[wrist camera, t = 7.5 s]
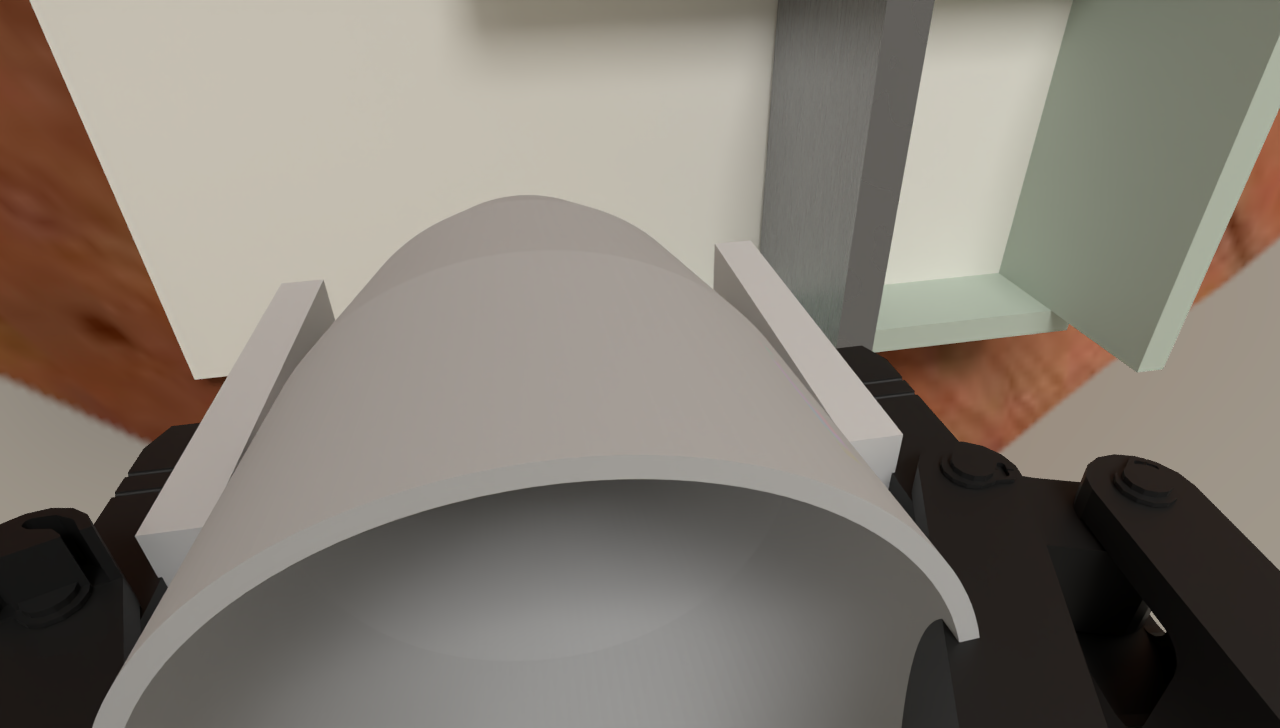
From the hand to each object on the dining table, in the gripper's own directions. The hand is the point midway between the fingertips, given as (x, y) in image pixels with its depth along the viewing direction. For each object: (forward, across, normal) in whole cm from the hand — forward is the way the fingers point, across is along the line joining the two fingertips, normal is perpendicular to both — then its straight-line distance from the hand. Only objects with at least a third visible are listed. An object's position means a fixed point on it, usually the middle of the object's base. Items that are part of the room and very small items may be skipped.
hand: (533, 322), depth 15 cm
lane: (+13, +4, 0) cm, 13 cm away
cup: (+1, 0, 0) cm, 1 cm away
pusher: (+12, +10, 0) cm, 15 cm away
